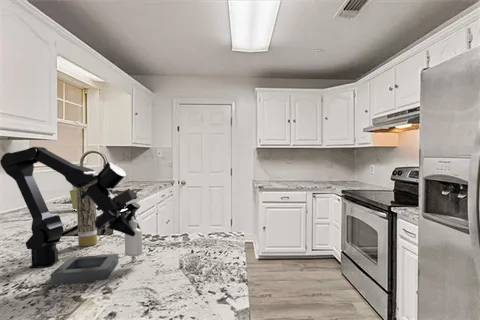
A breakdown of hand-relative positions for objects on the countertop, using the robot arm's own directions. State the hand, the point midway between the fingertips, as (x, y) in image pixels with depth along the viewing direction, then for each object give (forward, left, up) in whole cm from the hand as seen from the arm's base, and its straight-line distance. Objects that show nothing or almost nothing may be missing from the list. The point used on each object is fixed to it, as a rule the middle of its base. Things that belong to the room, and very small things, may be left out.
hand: (137, 233), depth 96 cm
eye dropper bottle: (-1, 0, -7) cm, 7 cm away
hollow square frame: (-14, -2, -10) cm, 18 cm away
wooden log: (-24, +32, -10) cm, 42 cm away
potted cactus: (-57, +133, -10) cm, 145 cm away
